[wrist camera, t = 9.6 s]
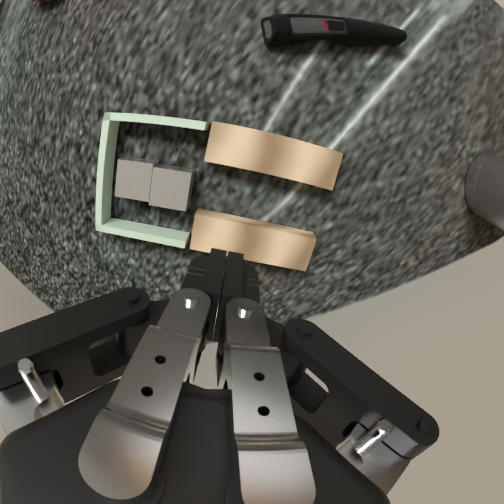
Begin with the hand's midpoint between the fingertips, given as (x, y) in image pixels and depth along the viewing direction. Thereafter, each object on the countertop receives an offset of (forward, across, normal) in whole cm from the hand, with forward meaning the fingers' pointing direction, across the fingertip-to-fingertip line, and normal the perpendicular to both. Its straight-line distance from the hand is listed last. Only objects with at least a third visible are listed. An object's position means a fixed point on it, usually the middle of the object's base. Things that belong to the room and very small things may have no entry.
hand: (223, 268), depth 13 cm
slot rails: (+17, -3, 0) cm, 18 cm away
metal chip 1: (+17, +11, +1) cm, 20 cm away
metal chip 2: (+18, +7, +1) cm, 19 cm away
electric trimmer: (+18, -6, -20) cm, 27 cm away
